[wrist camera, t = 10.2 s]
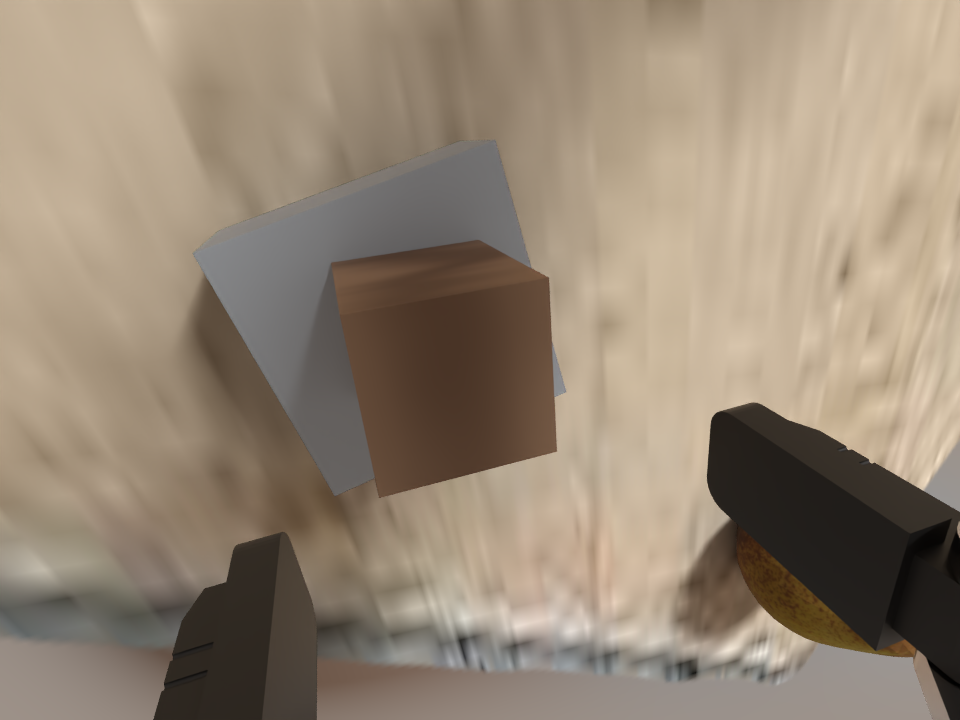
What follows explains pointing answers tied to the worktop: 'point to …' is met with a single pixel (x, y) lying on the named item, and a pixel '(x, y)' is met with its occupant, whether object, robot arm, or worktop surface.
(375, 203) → the base block
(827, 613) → the fruit
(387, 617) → the worktop surface
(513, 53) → the worktop surface
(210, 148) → the worktop surface
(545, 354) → the walnut block
